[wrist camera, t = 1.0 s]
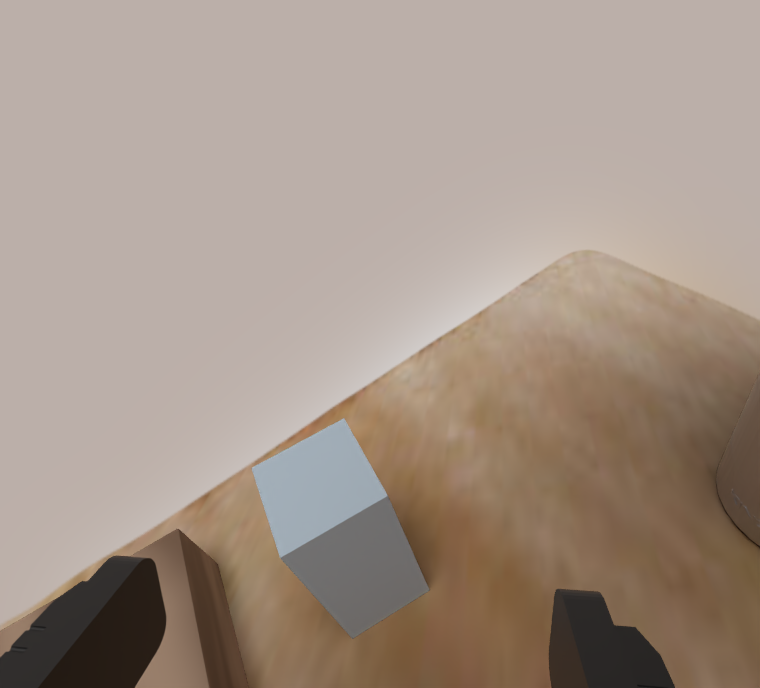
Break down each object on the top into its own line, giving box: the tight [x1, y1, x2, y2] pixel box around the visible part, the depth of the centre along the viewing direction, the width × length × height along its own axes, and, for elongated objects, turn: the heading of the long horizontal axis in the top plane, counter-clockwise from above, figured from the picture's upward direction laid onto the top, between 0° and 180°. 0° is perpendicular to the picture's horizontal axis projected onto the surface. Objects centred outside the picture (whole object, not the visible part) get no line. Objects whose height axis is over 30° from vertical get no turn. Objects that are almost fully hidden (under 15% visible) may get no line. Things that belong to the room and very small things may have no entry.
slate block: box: [252, 419, 429, 639], centre depth 28 cm, size 6×6×12 cm
